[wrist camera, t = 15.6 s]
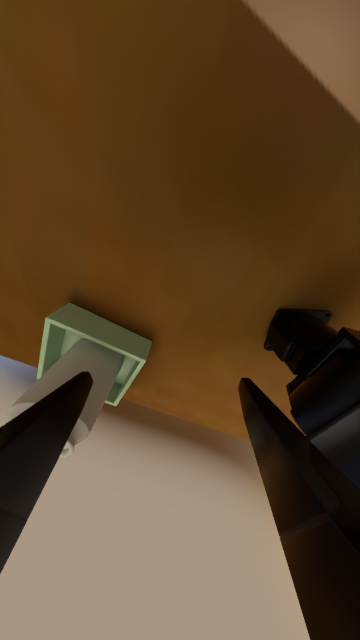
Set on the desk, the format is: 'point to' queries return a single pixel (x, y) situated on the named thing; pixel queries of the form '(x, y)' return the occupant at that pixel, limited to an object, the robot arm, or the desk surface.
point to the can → (74, 361)
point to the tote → (80, 323)
